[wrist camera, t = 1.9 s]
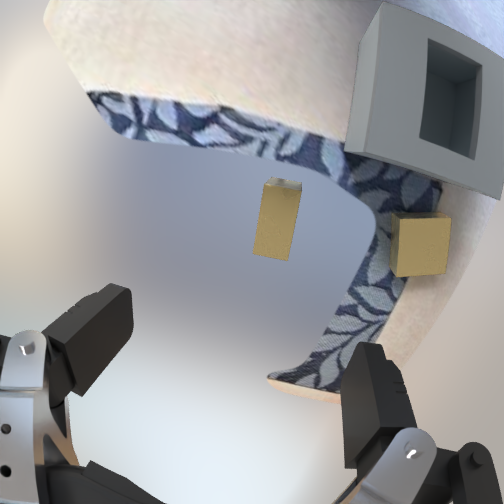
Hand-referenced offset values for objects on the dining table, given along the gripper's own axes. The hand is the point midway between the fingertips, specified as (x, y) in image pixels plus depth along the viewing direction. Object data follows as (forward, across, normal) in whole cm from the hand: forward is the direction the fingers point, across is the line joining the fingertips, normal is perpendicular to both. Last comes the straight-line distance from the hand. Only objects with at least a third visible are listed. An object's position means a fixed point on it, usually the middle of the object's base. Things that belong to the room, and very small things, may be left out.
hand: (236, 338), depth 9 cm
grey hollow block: (+21, -11, -13) cm, 27 cm away
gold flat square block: (+21, 0, 0) cm, 21 cm away
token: (+22, -15, 0) cm, 26 cm away
